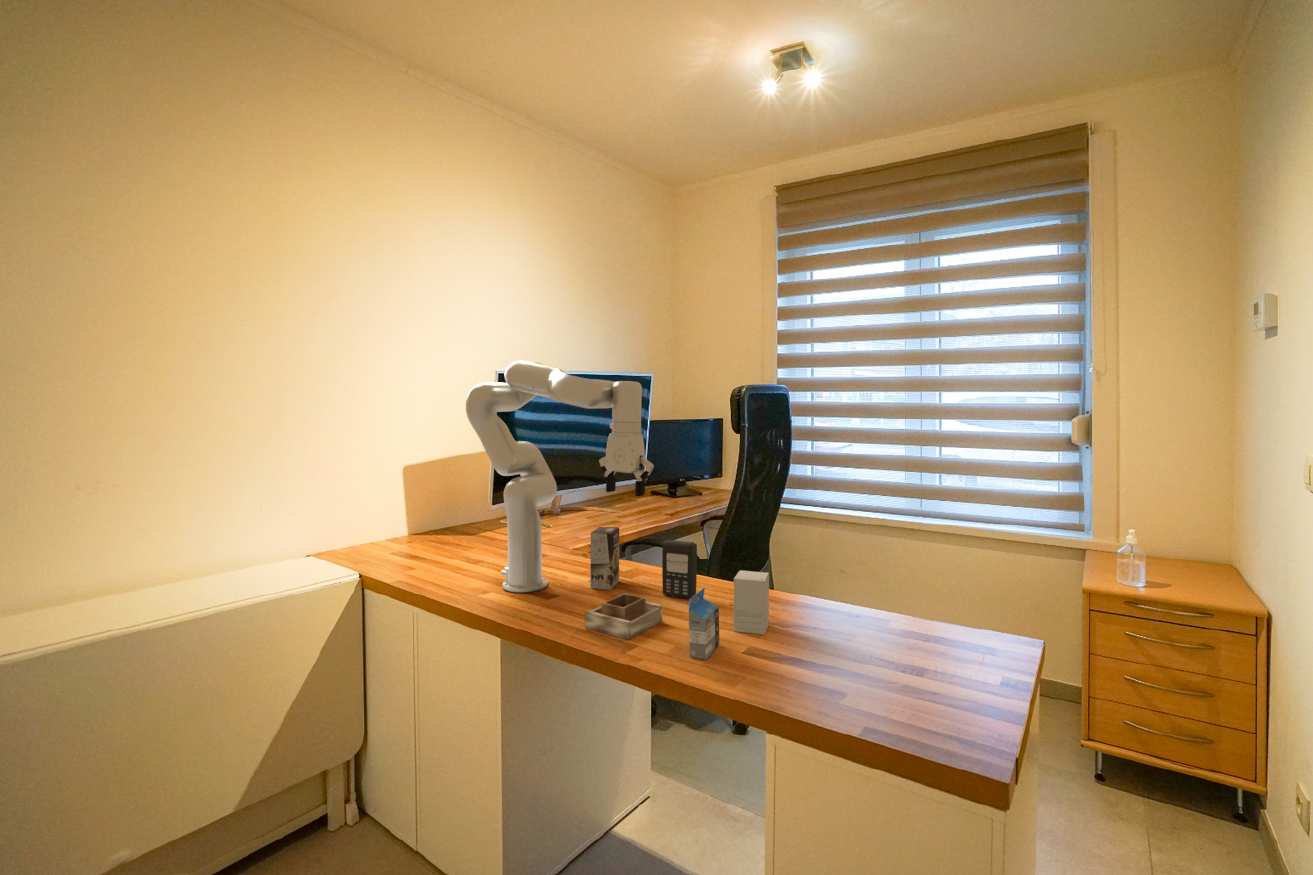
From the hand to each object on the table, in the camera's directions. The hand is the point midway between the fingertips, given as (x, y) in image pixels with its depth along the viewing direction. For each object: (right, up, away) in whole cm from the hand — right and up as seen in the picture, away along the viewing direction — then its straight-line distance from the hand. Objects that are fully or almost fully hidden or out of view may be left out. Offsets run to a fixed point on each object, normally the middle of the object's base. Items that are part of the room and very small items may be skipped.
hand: (625, 493), depth 159 cm
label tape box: (+18, -31, -30) cm, 47 cm away
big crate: (+1, -30, -15) cm, 33 cm away
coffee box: (-7, -28, +16) cm, 33 cm away
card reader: (+14, -29, +6) cm, 33 cm away
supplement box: (+31, -30, -17) cm, 46 cm away
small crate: (+1, -29, -15) cm, 33 cm away
